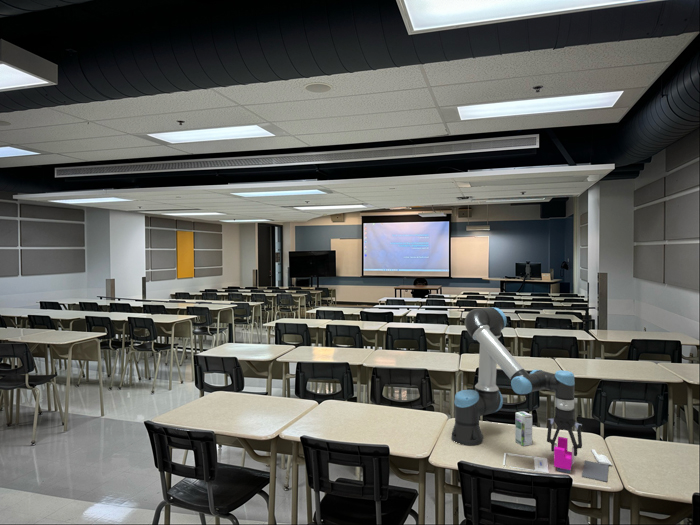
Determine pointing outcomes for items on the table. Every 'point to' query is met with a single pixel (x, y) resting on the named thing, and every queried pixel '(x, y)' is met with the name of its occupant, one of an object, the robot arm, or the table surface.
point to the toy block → (562, 454)
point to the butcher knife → (601, 458)
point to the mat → (595, 471)
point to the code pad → (564, 470)
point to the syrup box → (523, 428)
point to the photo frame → (539, 463)
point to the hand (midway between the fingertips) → (564, 460)
